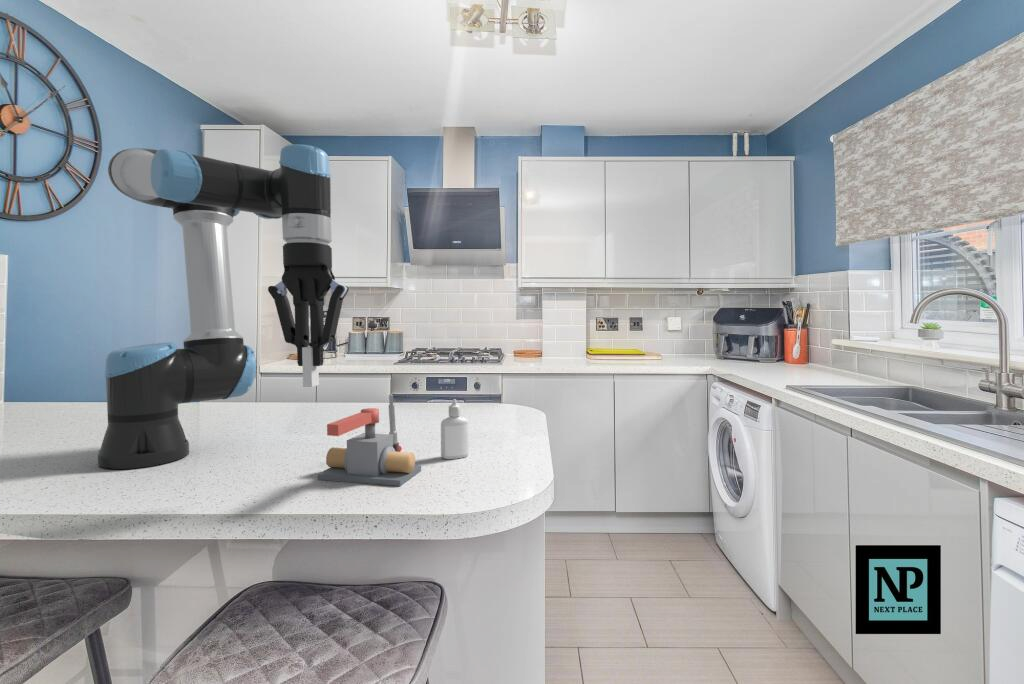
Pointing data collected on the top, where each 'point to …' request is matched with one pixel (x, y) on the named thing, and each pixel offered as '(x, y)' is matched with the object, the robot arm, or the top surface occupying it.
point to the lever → (353, 422)
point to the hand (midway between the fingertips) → (311, 385)
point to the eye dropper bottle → (454, 434)
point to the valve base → (370, 461)
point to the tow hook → (393, 424)
